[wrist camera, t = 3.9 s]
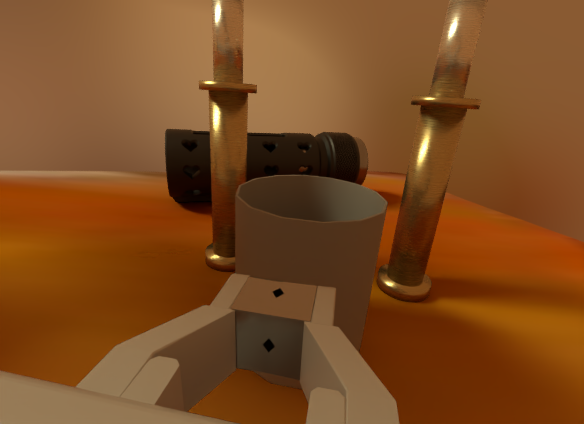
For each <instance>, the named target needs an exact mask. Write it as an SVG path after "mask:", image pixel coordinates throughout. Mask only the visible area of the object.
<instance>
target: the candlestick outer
mask: <svg viewBox="0 0 584 424" xmlns="http://www.w3.org/2000/svg"><path fill="white" fill-rule="evenodd" d="M487 1H488V0H449V4H448V9H447V13H446V18H445V23H444V28H443V33H442V37H441V42H440V47H439V51H438V56H437V61H436V66H435V70H434V75H433V79H432V84H431V89H430V94H429V96H412V101H411V104H412V105H421V108H420V113H419V118H418V123H417V128H416V132H415V138H414V143H413V147H412V152H411V157H410V162H409V167H408V172H407V176H406V181H405V186H404V191H403V196H402V201H401V205H400V210H399V215H398V220H397V225H396V230H395V235H394V239H393V244H392V249H391V254H390V259H389V264H386V265H383V266H381V267H380V268H379V271H378V276H377V285H378V287H379V288H380V289H381V290H382V291H383V292H384V293H386V294H387V295H389V296H391V297H393V298H395V299H398V300H402V301H406V302H420V301H423V300H425V299H427V298H428V296H429V292H430V289H431V285H432V282H431V280H430V278H429V277H428V276H427V275H426V274H425V271H426V267H427V263H428V259H429V256H430V252H431V248H432V244H433V240H434V236H435V232H436V228H437V224H438V221H439V217H440V213H441V209H442V205H443V201H444V197H445V193H446V189H447V186H448V182H449V178H450V174H451V170H452V166H453V162H454V158H455V154H456V151H457V147H458V143H459V139H460V135H461V131H462V127H463V123H464V120H465V116H466V112H467V109H479V107H480V104H481V100H478V99H466V98H464V93H465V89H466V85H467V81H468V78H469V74H470V69H471V66H472V61H473V58H474V54H475V49H476V45H477V42H478V38H479V34H480V29H481V26H482V22H483V18H484V14H485V9H486V6H487Z"/></svg>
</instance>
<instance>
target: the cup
mask: <svg viewBox="0 0 584 424" xmlns="http://www.w3.org/2000/svg"><path fill="white" fill-rule="evenodd" d="M387 204H388V202H387V201H386V200H385V199H384V198H383V197H382V196H381V195H380V194H379V193H377V192H376V191H373V190H371V189H368V188H366V187H364V186H361V185H359V184H356V183H352V182H347V181H343V180H338V179H334V178H327V177H318V176H308V175H275V176H269V177H262V178H255V179H252V180H250V181H248V182H246V183H243V184H241V185H239V187H238V190H237V192H236V195H235V273H236V274H244V275H250V276H256V277H262V278H268V279H274V280H280V281H284V282H290V283H298V284H307V285H315V286H325V287H334V288H336V299H335V311H334V323H333V326H336V327H339V328H340V329H341V331H342V332H343V333H344V334H345V336H346V337H347V338H348V340H349V341H350V342H351V343H352V345H353V346H354V347H355V349H356V350H357V351H358V352H359V350H360V346H361V342H362V336H363V331H364V326H365V321H366V315H367V310H368V305H369V299H370V294H371V289H372V284H373V278H374V273H375V268H376V262H377V257H378V252H379V247H380V241H381V236H382V231H383V226H384V220H385V215H386V210H387ZM254 372H255V373H257V374H258V375H260V376H261V377H262V378H264V379H265V380H267V381H268V382H270V383H271V384H277V385H282V386H287V387H292V388H297V389H302V387H301V384H300V380H296V379H292V378H287V377H283V376H278V375H274V374H269V373H264V372H258V371H254ZM302 390H303V389H302Z"/></svg>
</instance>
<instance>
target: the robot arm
mask: <svg viewBox="0 0 584 424" xmlns="http://www.w3.org/2000/svg"><path fill="white" fill-rule="evenodd" d="M335 299H336V288H334V287H325V286H315V285H307V284H298V283H290V282H284V281H280V280H274V279H268V278H262V277H256V276H250V275H244V274H236V273H234V274H232V275H231V276H230V277H229V279H228V280H227V282H226V283H225V284H224V286H223V287H222V289H221V290H220V292H219V293H218V294H217V296H216V297H215V299H214V300H213V302H212V303H211V304H210V306H208V305H203V306H201V307H199V308H197V309H195V310H192V311H190V312H188V313H186V314H184V315H181V316H179V317H177V318H175V319H173V320H171V321H168V322H166V323H164V324H162V325H160V326H157V327H155V328H153V329H151V330H149V331H146V332H144V333H142V334H140V335H138V336H135V337H133V338H131V339H129V340H127V341H124V342H122V343H120V344H118V345H116V346H115V347H114V348H113V349H112V350H111V351H110V352H109V353H108V354H107V355H106V356H105V357H104V358H103V359H102V360H101V361H100V362H99V363H98V364H97V365H96V366H95V367H94V368H93V369H92V370H91V371H90V372H89V373H88V375H87V376H86V377H85V378H84V379H83V380H82V381H81V382H80V383H79V384H78V385H77V386H76V387H72V386H68V385H63V384H59V383H54V382H50V381H45V380H41V379H36V378H32V377H27V376H23V375H18V374H14V373H9V372H5V371H0V424H239V423H234V422H230V421H225V420H221V419H216V418H212V417H207V416H203V415H198V414H194V413H189V412H187V411H188V410H189V409H191V408H192V407H193V406H194V405H195V404H197V403H198V402H199V401H200V400H201V399H202V398H204V397H205V396H206V395H207V394H208V393H209V392H211V391H212V390H213V389H214V388H215V387H217V386H218V385H219V384H220V383H221V382H222V381H224V380H225V379H226V378H227V377H228V376H229V375H231V374H232V373H233V372H234V371H235V370H236V368H240V369H246V370H252V371H258V372H264V373H269V374H274V375H278V376H283V377H287V378H292V379H296V380H300V384H301V387H302V389H303V392H304V394H305V397H306V399H307V402H308V404H309V407H308V413H307V419H306V424H399V417H398V411H397V404H396V400H395V399H394V398H393V396H392V395H391V394H390V392H389V391H388V390H387V389H386V387H385V386H384V385H383V383H382V382H381V381H380V380H379V378H378V377H377V376H376V374H375V373H374V372H373V371H372V369H371V368H370V367H369V365H368V364H367V363H366V362H365V360H364V359H363V358H362V356H361V355H360V354H359V352H358V351H357V350H356V349H355V347H354V346H353V345H352V343H351V342H350V341H349V340H348V338H347V337H346V336H345V334H344V333H343V332H342V331H341V329H340V328H339V327H336V326H333V323H334V311H335Z"/></svg>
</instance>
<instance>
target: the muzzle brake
mask: <svg viewBox="0 0 584 424" xmlns="http://www.w3.org/2000/svg"><path fill="white" fill-rule="evenodd" d="M165 155H166V172H167V182H168V190H169V195H170V196H171V197H173V199H174V200H175V202H198V201H212V192H211V157H210V132H208V131H192V130H179V129H167V130H166V133H165ZM367 170H368V153H367V149H366V146H365V144H364V142H363V141H362V140H361V139H359V138H357V137H352V136H350V135H349V134H347V133H333V132H323V133H320V134H318V135H316V136H315V137H314V136H312V135H311V134H304V133H281V134H273V133H272V134H271V133H247V179H246V182H248V181H250V180H252V179H255V178H262V177H269V176H275V175H308V176H318V177H327V178H334V179H338V180H343V181H347V182H352V183H356V184H359V185H362V184H363V182H364V180H365V177H366V175H367Z"/></svg>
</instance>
